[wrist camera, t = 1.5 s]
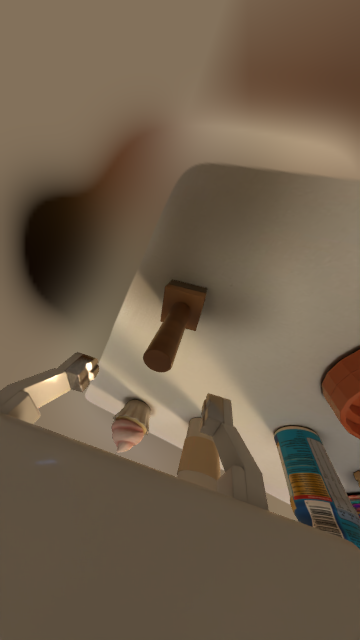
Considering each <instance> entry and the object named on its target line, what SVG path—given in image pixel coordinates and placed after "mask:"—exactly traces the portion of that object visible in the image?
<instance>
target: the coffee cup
mask: <svg viewBox="0 0 360 640" xmlns="http://www.w3.org/2000/svg"><path fill="white" fill-rule="evenodd" d="M201 419H202V418H193V419H191V420H190V422H189V427H188V431H187V436H186V439H185V442H184V446H183V451H182V455H181V459H180V463H179V468H178V472H177V475H178V476H177V477H178V478H181V479H183V480H186V481H189V482H192V483H194V484H197V485H200V486H202V487H205V488H208V489H211V490H213V491H216V492H217V480H218V479H219V478H220V462H219V454H218V451H217V449H216V446H215V443H214V440H213V438H212V436H209V435H207V434H204V433H201V432H200V424H201Z"/></svg>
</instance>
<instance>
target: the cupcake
mask: <svg viewBox="0 0 360 640" xmlns="http://www.w3.org/2000/svg"><path fill="white" fill-rule="evenodd" d="M149 418H150V408H149V406H148V405H147V404H145V403H144V402H142V401H139V400H130V401H129V402H128V403H127V404H126V405H125V407H124V408H123V409H122V410H121V411H120V412H119V413H117V414H116V415H115V416H114V417H113V419H114V421H113V424H112V432H113V434H112V438H113V440H114V442H115V444H116V446H117V452H125V451H127V450H129V449H130V448H132V446H135V445H136V444H138V443H139V442H140V441H141V440H142V439H143V436H144V435H148V431H149Z"/></svg>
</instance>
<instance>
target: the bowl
mask: <svg viewBox="0 0 360 640" xmlns="http://www.w3.org/2000/svg"><path fill="white" fill-rule="evenodd" d="M322 390H323V396H324V397H325V399H326V400H327V402H328V403H329V405H330V407H331V408H332V410H333V411H334V413H335V415H336V416H337V418H338V419H339V421H340V423H341V424H342V425H343V426H344V428H345V429H346V430H347V432H348V433H350V434H352V435H353V436H355V437H357V438H359V439H360V350H358V351H356V352H355V353H353V354H351V355H349V356H347V357H346V358H344V359H342V360H340V361H339V362H338V363H337V364H336V365H335V366H334V367H333V368H332V369H331V370H330V371H328V373H327V374H326V376H325V379H324V381H323V383H322Z"/></svg>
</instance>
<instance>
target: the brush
mask: <svg viewBox="0 0 360 640" xmlns="http://www.w3.org/2000/svg"><path fill="white" fill-rule="evenodd" d="M206 293H207V288H204V287H200V286H196V285H193V284H189V283H185V282H181V281H177V280H171V281H170V283H169V284H168V285H167V286H166V287H165V291H164V299H163V306H162V314H161V322H163V323H162V325H161V327H160V328H159V330H158V332H157V333H156V335H155V337H154V338H153V340H152V342H151V343H150V345H149V347H148V348H147V350H146V352H145V353H144V356H143V360H144V362H145V364H146V365H147V366H148V367H149V368H150V369H152V370H154V371H157V372H166V371H168V370H170V369H171V367H172V365H173V362H174V359H175V356H176V353H177V350H178V347H179V344H180V342H181V339H182V336H183V333H184V330H185V328H186V329H190V330H194V331H196V328H197V325H198V321H199V318H200V315H201V311H202V308H203V305H204V301H205V298H206Z"/></svg>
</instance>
